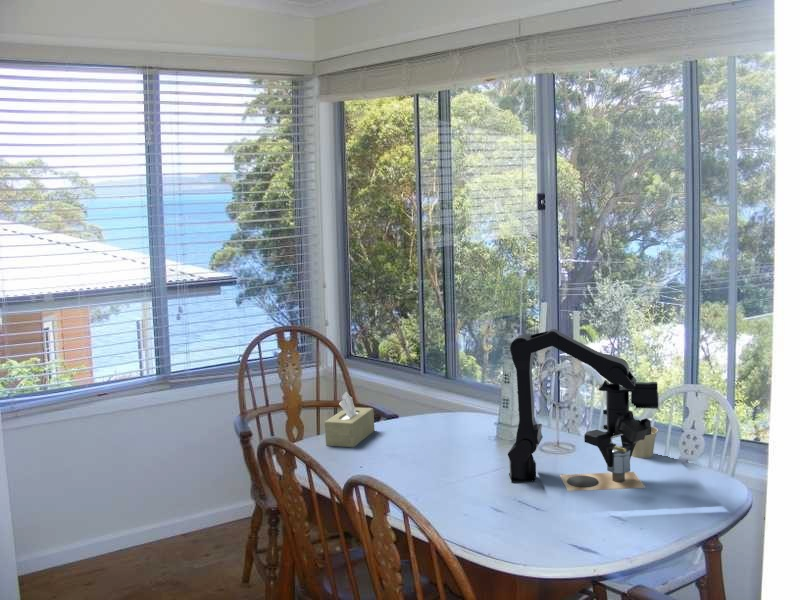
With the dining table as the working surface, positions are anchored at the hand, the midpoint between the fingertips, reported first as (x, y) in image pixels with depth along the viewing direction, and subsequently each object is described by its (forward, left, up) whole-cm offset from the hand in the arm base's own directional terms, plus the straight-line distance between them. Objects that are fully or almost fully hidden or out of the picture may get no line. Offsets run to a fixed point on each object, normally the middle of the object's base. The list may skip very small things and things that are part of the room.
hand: (618, 464), depth 220 cm
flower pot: (+12, +20, -6) cm, 24 cm away
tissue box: (-75, +53, -6) cm, 92 cm away
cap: (0, 0, -1) cm, 1 cm away
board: (-4, 0, -6) cm, 7 cm away
